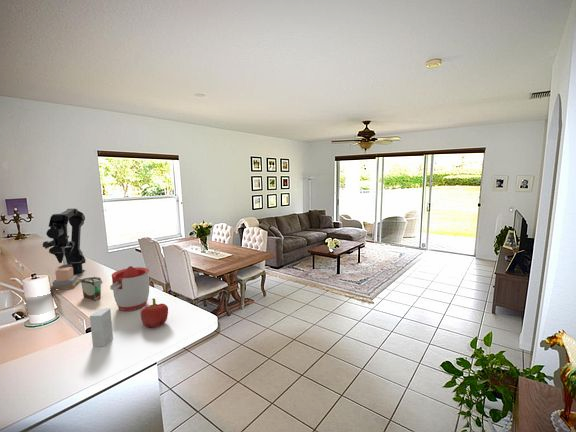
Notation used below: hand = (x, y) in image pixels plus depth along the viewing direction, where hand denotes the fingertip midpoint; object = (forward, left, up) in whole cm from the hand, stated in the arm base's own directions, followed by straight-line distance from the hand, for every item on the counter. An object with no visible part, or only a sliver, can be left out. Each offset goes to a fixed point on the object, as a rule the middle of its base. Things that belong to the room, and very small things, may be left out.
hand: (63, 260), depth 164 cm
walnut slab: (+8, +3, -14) cm, 16 cm away
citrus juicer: (+50, +44, -13) cm, 68 cm away
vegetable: (+72, +57, -13) cm, 93 cm away
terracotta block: (+8, +3, -9) cm, 12 cm away
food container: (+32, +24, -13) cm, 42 cm away
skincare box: (+80, +40, -13) cm, 90 cm away
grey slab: (+8, +3, -11) cm, 14 cm away
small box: (-43, -12, -13) cm, 47 cm away
